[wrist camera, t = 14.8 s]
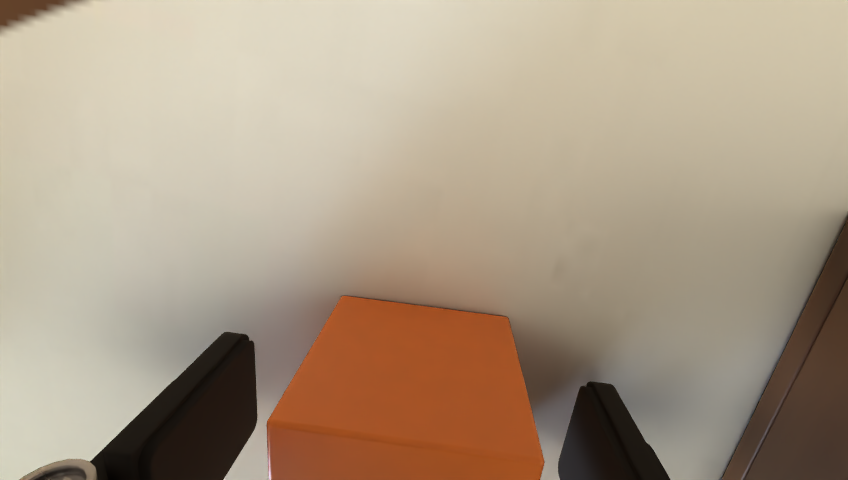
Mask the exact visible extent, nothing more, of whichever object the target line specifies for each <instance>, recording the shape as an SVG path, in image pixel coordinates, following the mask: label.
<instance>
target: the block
mask: <svg viewBox="0 0 848 480" xmlns="http://www.w3.org/2000/svg"><path fill="white" fill-rule="evenodd" d="M267 447H268V475H269V480H540V477H541V474H542V470H543V466H544V463H545V462H544V458H543V454H542V450H541V446H540V442H539V438H538V434H537V430H536V426H535V422H534V418H533V414H532V410H531V406H530V402H529V398H528V394H527V390H526V386H525V382H524V378H523V374H522V370H521V366H520V362H519V358H518V354H517V350H516V346H515V342H514V338H513V334H512V330H511V326H510V322H509V318H507V317H503V316H495V315H488V314H480V313H473V312H465V311H457V310H450V309H442V308H435V307H427V306H419V305H412V304H404V303H396V302H389V301H381V300H374V299H366V298H358V297H351V296H341V298H340V300H339V301H338V303H337V305H336V307H335V308H334V310H333V312H332V313H331V315H330V317H329V318H328V320H327V322H326V323H325V325H324V327H323V328H322V330H321V332H320V333H319V335H318V337H317V338H316V340H315V342H314V343H313V345H312V347H311V349H310V350H309V352H308V354H307V355H306V357H305V359H304V360H303V362H302V364H301V365H300V367H299V369H298V370H297V372H296V374H295V375H294V377H293V379H292V380H291V382H290V384H289V385H288V387H287V389H286V391H285V392H284V394H283V396H282V397H281V399H280V401H279V402H278V404H277V406H276V407H275V409H274V411H273V412H272V414H271V416H270V417H269V419H268V421H267Z"/></svg>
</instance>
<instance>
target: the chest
mask: <svg viewBox="0 0 848 480" xmlns="http://www.w3.org/2000/svg"><path fill="white" fill-rule="evenodd" d="M722 480H848V219H847V221H846V224H845V226H844V228H843V230H842V232H841V234H840V236H839V238H838V240H837V242H836V244H835V246H834V248H833V250H832V252H831V255H830V257H829V259H828V261H827V263H826V265H825V267H824V269H823V271H822V273H821V275H820V277H819V279H818V281H817V283H816V286H815V288H814V290H813V292H812V294H811V296H810V298H809V300H808V302H807V304H806V306H805V308H804V310H803V312H802V314H801V317H800V319H799V321H798V323H797V325H796V327H795V329H794V331H793V333H792V335H791V337H790V339H789V341H788V343H787V345H786V347H785V350H784V352H783V354H782V356H781V358H780V360H779V362H778V364H777V366H776V368H775V370H774V372H773V374H772V376H771V378H770V381H769V383H768V385H767V387H766V389H765V391H764V393H763V395H762V397H761V399H760V401H759V403H758V405H757V407H756V409H755V412H754V414H753V416H752V418H751V420H750V422H749V424H748V426H747V428H746V430H745V432H744V434H743V436H742V438H741V440H740V443H739V445H738V447H737V449H736V451H735V453H734V455H733V457H732V459H731V461H730V463H729V465H728V467H727V469H726V471H725V474H724V476H723V478H722Z"/></svg>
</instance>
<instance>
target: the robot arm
mask: <svg viewBox="0 0 848 480" xmlns="http://www.w3.org/2000/svg"><path fill="white" fill-rule="evenodd" d="M256 423H257V397H256V374H255V351H254V342H253V341H250V340H249V338H248V336H247V335H246V334H238V333H231V332H224V333H223V334H222V335H221V336H220V337H219V338H218V339H216V340H215V341H214V342H213V343H212V344H211V345H210V346H209V347H208V348H207V349H206V350H205V351H204V352H203V353H202V354H201V355H200V356H199V357H198V358H197V359H196V360H195V361H194V362H193V363H192V364H191V365H190V366H189V367H188V368H187V369H186V370H185V371H184V372H183V373H182V374H181V375H180V376H179V377H178V378H177V379H175V380H174V381H173V382H172V383H171V384H170V385H168V386H167V387H166V388H165V389H164V390H163V391H162V392H161V393H160V394H159V395H158V396H157V397H156V398H155V399H154V400H153V401H152V402H151V403H150V404H149V405H148V406H147V407H146V408H145V409H144V410H143V411H142V412H141V413H140V414H139V415H138V416H137V417H136V418H135V419H134V420H132V421H131V422H130V423H129V424H128V425H127V426H126V427H125V428H124V429H123V430H122V431H121V432H120V433H119V434H118V435H117V436H116V437H115V438H114V439H113V440H112V441H111V442H110V443H109V444H108V445H107V446H106V447H105V448H104V449H103V450H102V451H101V452H100V453H99V454H98V455H97V456H95V457H94V458H93V459H92V460H91V461H90V462H89V461H86V460H83V459H67V460H62V461H58V462H54V463H51V464H48V465H46V466H43V467H41V468H38V469H36V470H35V471H33V472H31V473H29V474H27V475H26V476H24V477H22V478H21V479H20V480H223V479H224V478H225V476H226V474H227V473H228V471H229V470H230V468H231V466H232V465H233V463H234V462H235V460H236V458H237V457H238V455H239V454H240V452H241V450H242V449H243V447H244V445H245V444H246V442H247V441H248V439H249V437H250V436H251V434H252V433H253V431H254V429H255V426H256ZM558 472H559V477H560V480H670V478H669V476H668V475H667V473H666V471H665V469H664V468H663V466H662V464H661V463H660V461H659V459H658V457H657V456H656V454H655V452H654V450H653V449H652V448H651V446H650V445H649V444H647V443H646V442H645V440H644V438H643V436H642V435H641V433H640V431H639V429H638V428H637V426H636V424H635V422H634V421H633V419H632V417H631V415H630V414H629V412H628V410H627V408H626V407H625V405H624V403H623V401H622V399H621V398H620V396H619V394H618V392H617V391H616V389H615V387H614V386H613V385H611V384H606V383H598V382H588V383H587V385H586V386H581V387H580V389H579V392H578V396H577V399H576V403H575V406H574V410H573V413H572V416H571V420H570V423H569V427H568V430H567V434H566V437H565V441H564V444H563V448H562V451H561V454H560V458H559V462H558Z"/></svg>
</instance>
